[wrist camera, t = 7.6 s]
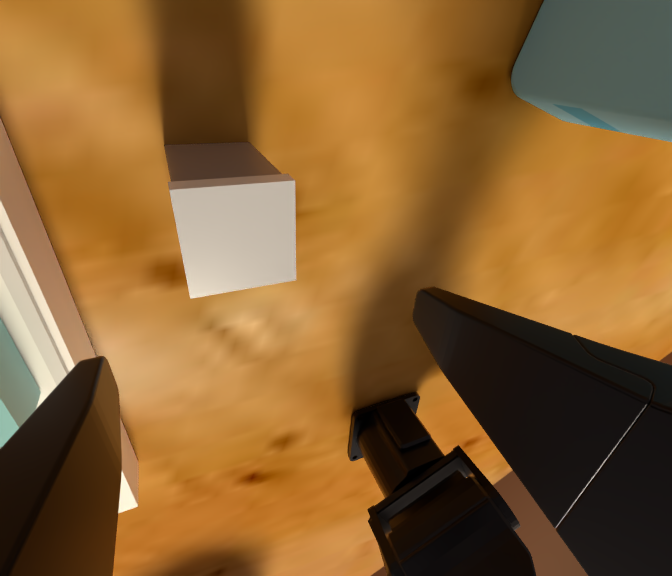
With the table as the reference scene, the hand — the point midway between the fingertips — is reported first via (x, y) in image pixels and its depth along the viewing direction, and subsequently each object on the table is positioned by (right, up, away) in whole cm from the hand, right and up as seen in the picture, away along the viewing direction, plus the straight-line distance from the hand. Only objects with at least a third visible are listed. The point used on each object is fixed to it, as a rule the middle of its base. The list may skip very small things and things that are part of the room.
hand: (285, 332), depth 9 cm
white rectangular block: (-5, +6, +9) cm, 12 cm away
